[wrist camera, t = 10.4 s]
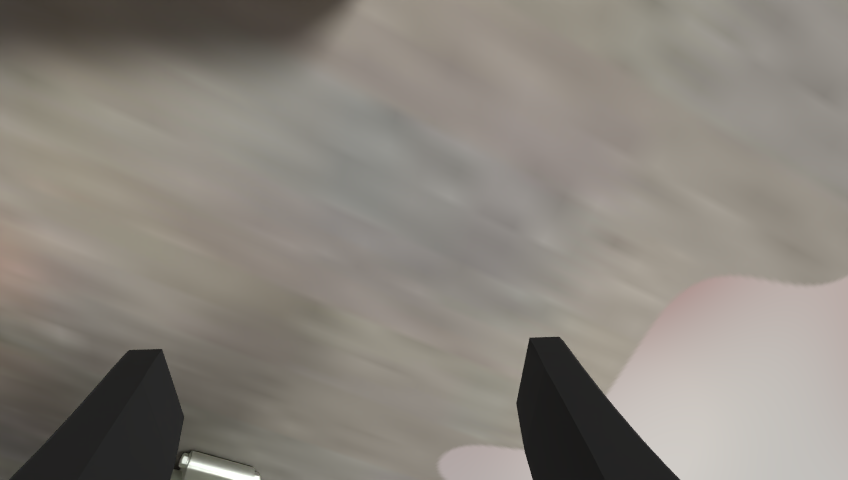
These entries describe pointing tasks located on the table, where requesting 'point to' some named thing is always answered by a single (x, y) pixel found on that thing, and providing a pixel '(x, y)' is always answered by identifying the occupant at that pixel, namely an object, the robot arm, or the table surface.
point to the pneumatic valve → (211, 469)
